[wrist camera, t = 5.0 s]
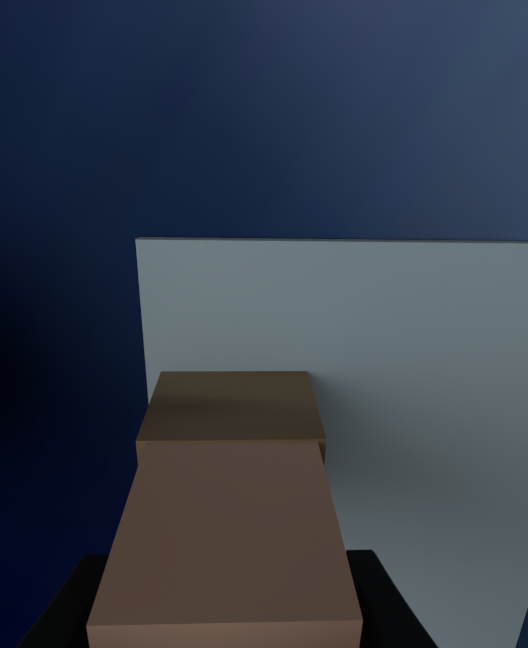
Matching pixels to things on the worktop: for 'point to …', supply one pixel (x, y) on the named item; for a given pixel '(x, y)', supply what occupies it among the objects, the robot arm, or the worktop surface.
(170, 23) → the worktop surface
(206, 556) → the terracotta block
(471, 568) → the mat
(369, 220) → the worktop surface
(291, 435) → the walnut block
